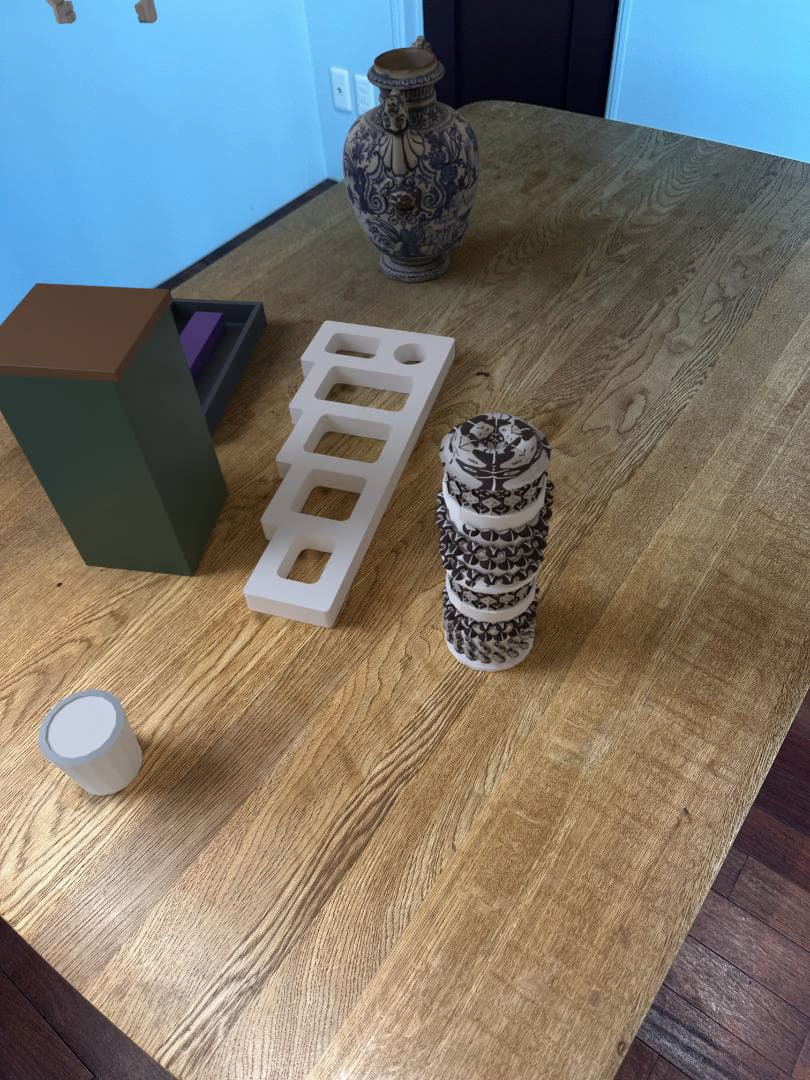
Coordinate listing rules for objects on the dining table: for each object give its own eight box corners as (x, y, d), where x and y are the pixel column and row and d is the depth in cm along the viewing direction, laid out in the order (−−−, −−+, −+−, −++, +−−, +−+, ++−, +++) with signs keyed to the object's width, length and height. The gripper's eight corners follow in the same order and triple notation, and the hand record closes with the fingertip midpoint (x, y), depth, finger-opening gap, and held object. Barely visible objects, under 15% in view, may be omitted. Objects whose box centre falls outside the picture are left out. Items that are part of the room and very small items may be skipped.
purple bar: (143, 420, 100) (136, 404, 98) (199, 326, 113) (195, 311, 111) (173, 422, 99) (167, 406, 98) (226, 328, 112) (222, 312, 110)
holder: (331, 629, 78) (327, 612, 76) (167, 590, 83) (159, 573, 81) (455, 355, 106) (455, 338, 104) (327, 337, 110) (325, 320, 108)
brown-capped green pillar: (81, 564, 86) (-33, 362, 66) (126, 484, 93) (36, 282, 74) (197, 577, 84) (115, 372, 64) (233, 494, 91) (169, 288, 72)
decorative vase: (468, 307, 113) (469, 92, 92) (339, 300, 116) (311, 90, 95) (485, 230, 127) (489, 27, 106) (370, 226, 130) (351, 28, 109)
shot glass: (140, 801, 68) (113, 764, 63) (60, 804, 68) (26, 767, 63) (156, 727, 72) (132, 686, 67) (81, 730, 73) (51, 689, 67)
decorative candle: (558, 632, 77) (588, 431, 58) (493, 694, 73) (502, 500, 54) (486, 580, 81) (492, 378, 62) (421, 635, 77) (406, 438, 58)
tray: (101, 439, 99) (91, 416, 96) (175, 319, 115) (169, 297, 113) (206, 447, 97) (199, 425, 94) (267, 324, 113) (262, 302, 111)
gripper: (-57, -133, 76) (6, 32, 87) (146, -142, 73) (185, 31, 84) (-23, -147, 81) (33, 13, 91) (171, -155, 77) (206, 11, 88)
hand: (107, 22), depth 87 cm, fingers open, 8 cm apart
